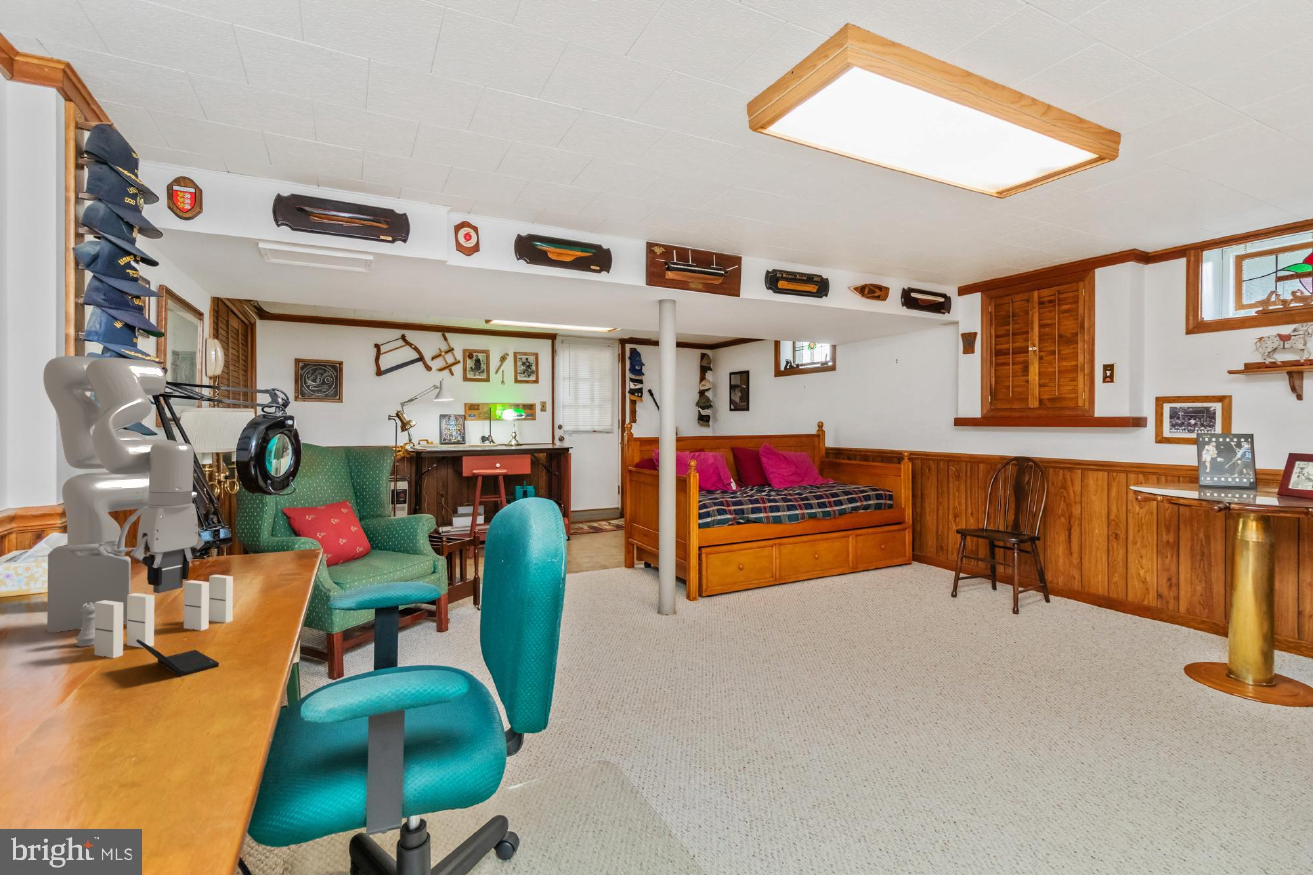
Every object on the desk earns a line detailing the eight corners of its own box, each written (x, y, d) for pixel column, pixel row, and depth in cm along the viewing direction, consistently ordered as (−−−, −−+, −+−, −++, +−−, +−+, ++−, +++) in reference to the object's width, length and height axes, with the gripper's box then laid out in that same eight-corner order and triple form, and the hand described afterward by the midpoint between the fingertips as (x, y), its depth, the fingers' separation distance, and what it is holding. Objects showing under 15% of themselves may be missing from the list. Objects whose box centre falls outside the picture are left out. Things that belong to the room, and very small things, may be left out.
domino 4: (191, 625, 133) (191, 580, 133) (208, 628, 131) (209, 582, 131) (183, 628, 131) (184, 581, 131) (201, 630, 130) (201, 583, 130)
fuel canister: (145, 615, 139) (146, 506, 139) (143, 620, 135) (144, 508, 135) (52, 627, 130) (52, 510, 130) (47, 633, 126) (48, 513, 126)
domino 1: (104, 651, 117) (104, 600, 117) (123, 655, 115) (123, 602, 115) (94, 654, 115) (94, 602, 115) (113, 658, 114) (113, 605, 114)
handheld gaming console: (231, 654, 113) (191, 620, 108) (199, 690, 108) (155, 656, 102) (195, 652, 118) (155, 620, 113) (163, 686, 113) (119, 654, 107)
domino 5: (215, 618, 138) (216, 574, 138) (232, 620, 137) (233, 576, 136) (208, 620, 136) (209, 576, 136) (225, 622, 135) (226, 578, 135)
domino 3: (153, 592, 131) (154, 546, 131) (177, 586, 136) (178, 542, 136) (158, 593, 131) (159, 547, 130) (182, 587, 135) (183, 542, 135)
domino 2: (135, 642, 122) (136, 592, 122) (154, 645, 121) (154, 595, 121) (126, 645, 121) (127, 594, 120) (145, 648, 119) (145, 597, 119)
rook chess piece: (87, 648, 118) (87, 607, 118) (69, 646, 119) (69, 605, 119) (111, 640, 123) (112, 601, 123) (94, 638, 124) (94, 599, 124)
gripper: (196, 493, 142) (194, 571, 142) (114, 502, 126) (112, 589, 126) (221, 496, 140) (219, 574, 140) (140, 505, 124) (138, 594, 124)
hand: (168, 580), depth 133 cm, fingers closed on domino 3, 4 cm apart
